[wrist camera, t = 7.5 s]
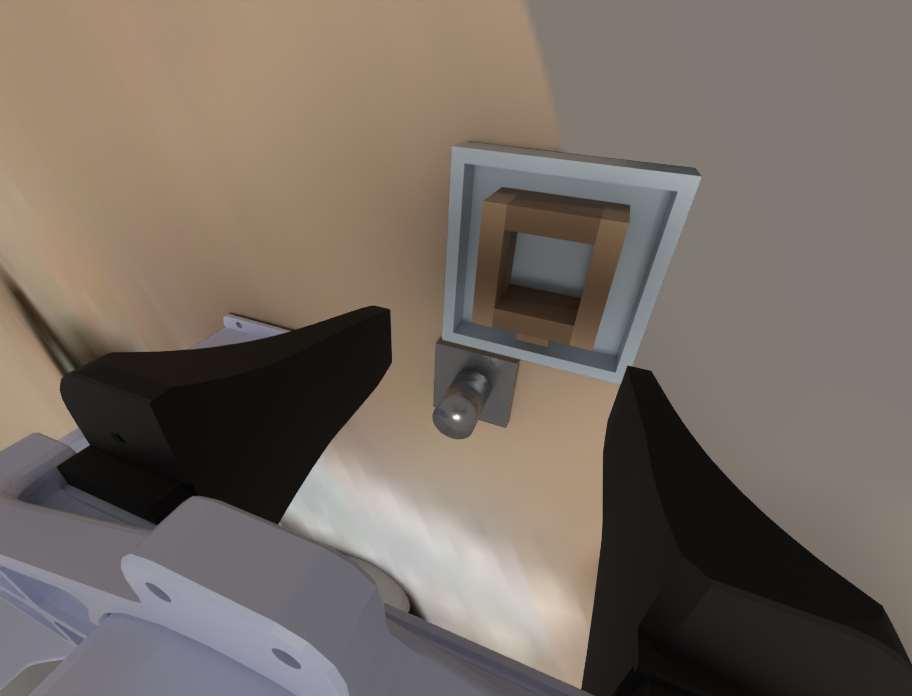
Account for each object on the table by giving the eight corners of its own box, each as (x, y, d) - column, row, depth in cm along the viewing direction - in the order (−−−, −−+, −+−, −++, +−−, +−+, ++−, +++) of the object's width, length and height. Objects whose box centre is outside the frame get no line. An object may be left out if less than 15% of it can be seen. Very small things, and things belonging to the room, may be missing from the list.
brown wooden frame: (502, 186, 19) (482, 200, 16) (630, 204, 17) (629, 223, 15) (487, 316, 23) (469, 343, 20) (591, 340, 21) (585, 372, 19)
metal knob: (436, 400, 28) (411, 441, 25) (439, 338, 25) (411, 374, 22) (508, 421, 27) (491, 467, 23) (519, 358, 24) (502, 399, 21)
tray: (454, 323, 24) (442, 339, 23) (467, 141, 19) (451, 146, 17) (625, 363, 22) (624, 385, 20) (695, 168, 16) (702, 176, 15)
